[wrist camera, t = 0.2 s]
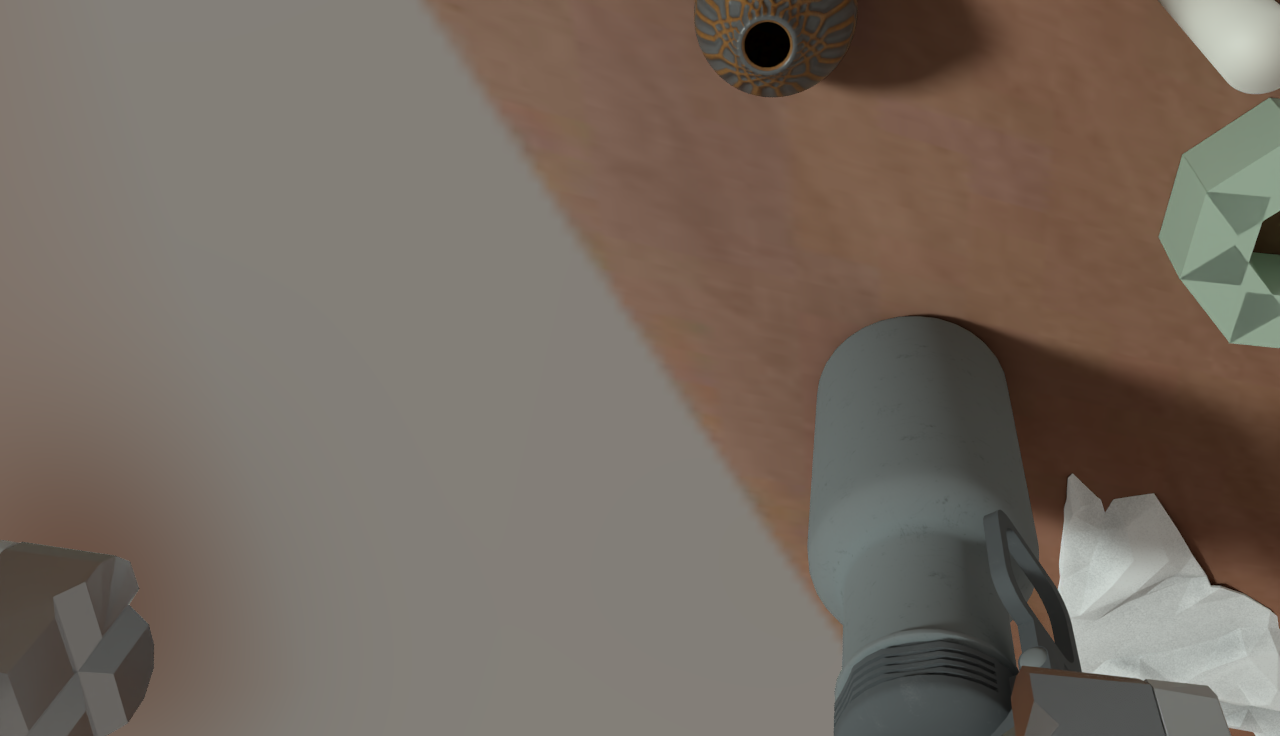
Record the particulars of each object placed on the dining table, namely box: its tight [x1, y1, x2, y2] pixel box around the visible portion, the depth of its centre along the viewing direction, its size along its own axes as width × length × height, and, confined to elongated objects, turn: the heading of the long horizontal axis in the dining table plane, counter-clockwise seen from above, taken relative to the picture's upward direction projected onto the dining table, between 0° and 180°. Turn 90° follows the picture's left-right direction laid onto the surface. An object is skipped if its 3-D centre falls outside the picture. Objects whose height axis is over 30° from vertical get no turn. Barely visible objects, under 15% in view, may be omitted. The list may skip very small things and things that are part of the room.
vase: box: [694, 0, 858, 97], centre depth 50 cm, size 7×7×9 cm
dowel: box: [1158, 0, 1280, 94], centre depth 45 cm, size 3×3×12 cm
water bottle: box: [807, 316, 1082, 736], centre depth 51 cm, size 10×10×28 cm
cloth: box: [1058, 474, 1280, 736], centre depth 68 cm, size 26×14×2 cm, turn 32°
